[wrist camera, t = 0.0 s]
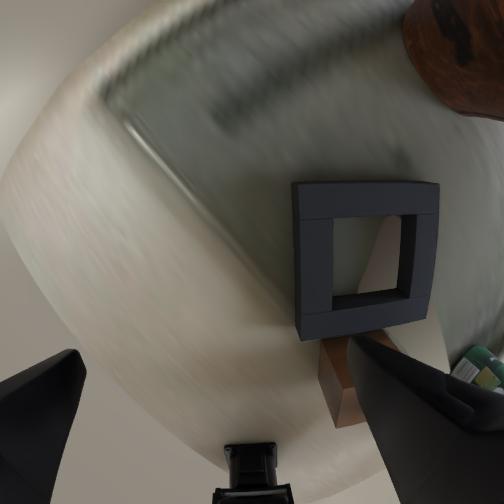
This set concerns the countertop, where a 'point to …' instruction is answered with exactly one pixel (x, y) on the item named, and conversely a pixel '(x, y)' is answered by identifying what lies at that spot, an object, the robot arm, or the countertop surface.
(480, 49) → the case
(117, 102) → the countertop surface
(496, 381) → the coffee jar
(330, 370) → the walnut block
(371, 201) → the dark square frame
